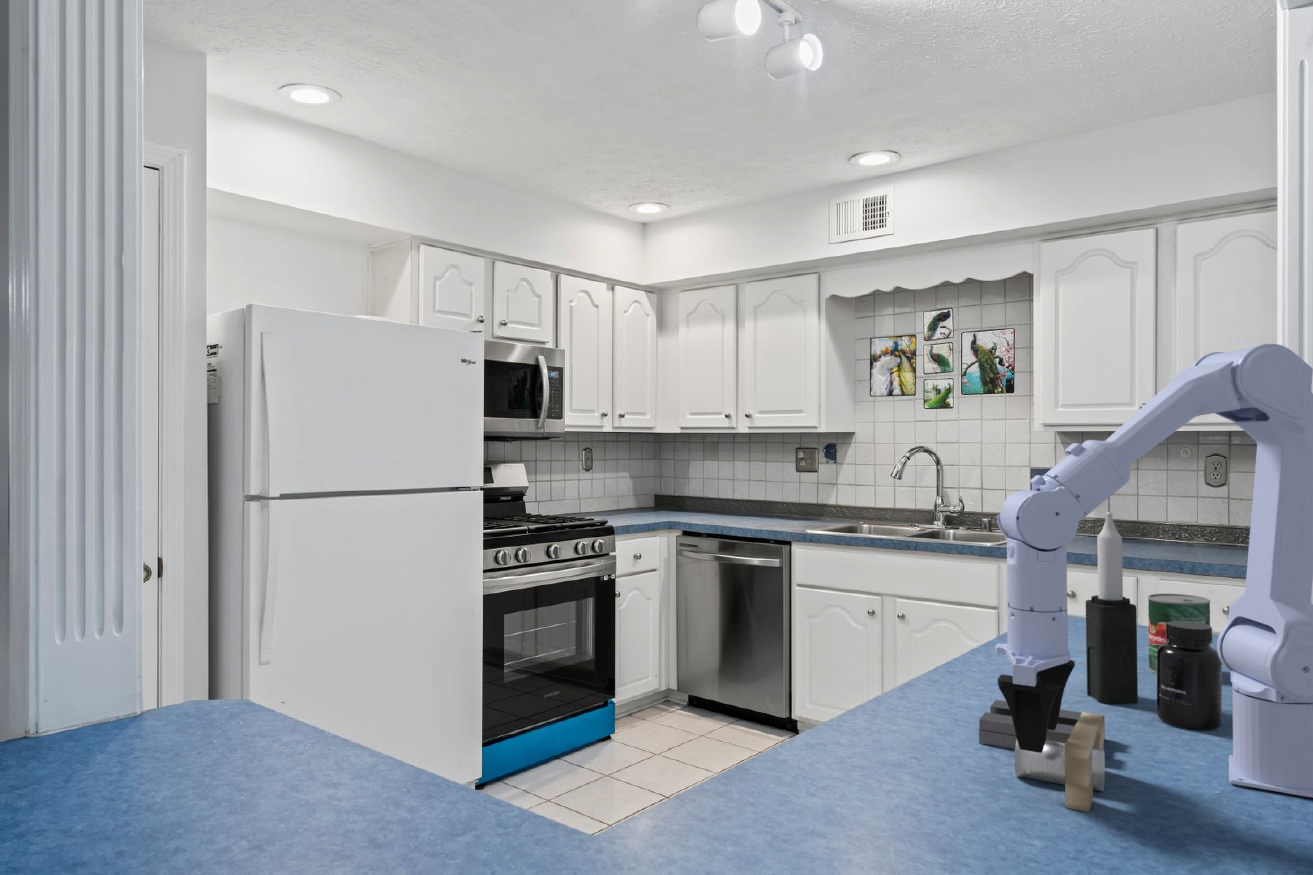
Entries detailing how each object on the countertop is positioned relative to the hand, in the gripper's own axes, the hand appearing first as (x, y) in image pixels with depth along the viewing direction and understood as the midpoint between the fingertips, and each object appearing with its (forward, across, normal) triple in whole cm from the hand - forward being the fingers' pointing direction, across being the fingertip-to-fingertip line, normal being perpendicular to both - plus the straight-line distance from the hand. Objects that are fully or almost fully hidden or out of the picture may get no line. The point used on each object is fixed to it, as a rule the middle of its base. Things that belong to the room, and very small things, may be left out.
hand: (1038, 738), depth 89 cm
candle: (+4, -34, +3) cm, 34 cm away
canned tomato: (+4, -53, +10) cm, 54 cm away
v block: (+4, -12, -2) cm, 13 cm away
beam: (+4, 0, +4) cm, 6 cm away
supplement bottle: (+4, -28, +12) cm, 31 cm away
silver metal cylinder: (+4, 0, +2) cm, 5 cm away
